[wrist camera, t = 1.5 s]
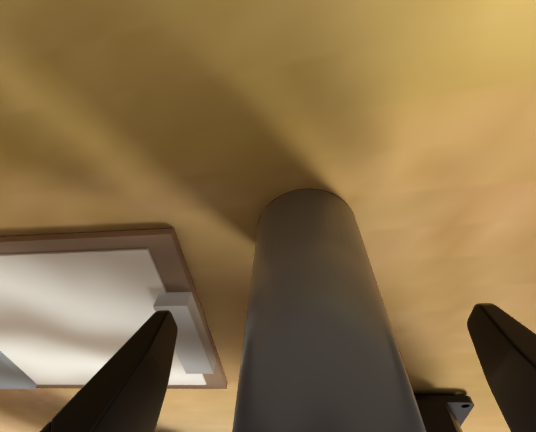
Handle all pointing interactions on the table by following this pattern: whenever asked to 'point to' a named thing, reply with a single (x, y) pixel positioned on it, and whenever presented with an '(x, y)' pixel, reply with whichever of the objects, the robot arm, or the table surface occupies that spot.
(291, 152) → the table surface
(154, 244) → the clipboard
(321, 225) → the water bottle
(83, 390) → the robot arm
